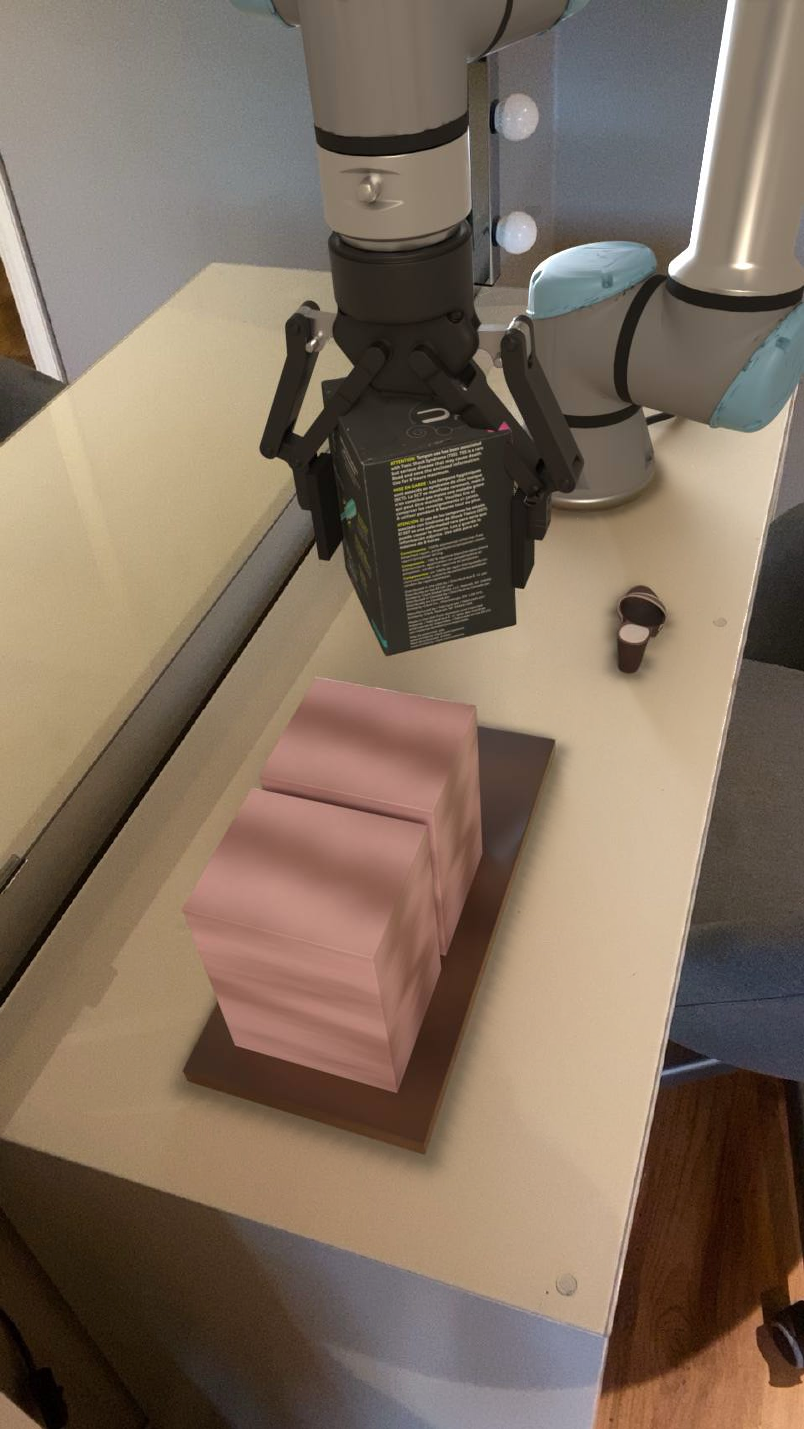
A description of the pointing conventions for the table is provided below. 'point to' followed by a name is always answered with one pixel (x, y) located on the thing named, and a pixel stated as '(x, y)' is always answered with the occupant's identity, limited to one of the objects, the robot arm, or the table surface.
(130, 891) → the table surface
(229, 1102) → the table surface
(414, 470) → the tampon box
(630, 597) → the heeled mule
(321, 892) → the pink stack on tray
